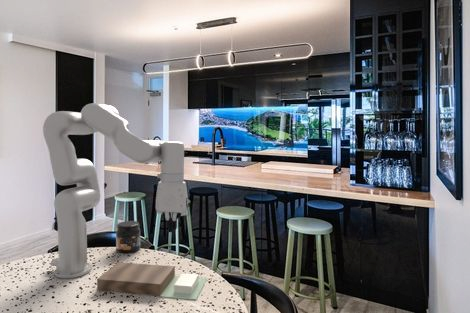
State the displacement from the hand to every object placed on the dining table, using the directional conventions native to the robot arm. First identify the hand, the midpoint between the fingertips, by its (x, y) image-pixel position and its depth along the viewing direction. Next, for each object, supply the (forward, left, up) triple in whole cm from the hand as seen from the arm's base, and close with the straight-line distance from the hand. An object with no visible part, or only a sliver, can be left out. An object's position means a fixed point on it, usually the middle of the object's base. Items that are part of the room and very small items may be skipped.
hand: (171, 231), depth 108 cm
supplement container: (-31, +29, -20) cm, 47 cm away
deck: (-12, 0, -19) cm, 23 cm away
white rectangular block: (+5, 0, -18) cm, 19 cm away
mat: (+5, 0, -19) cm, 20 cm away
